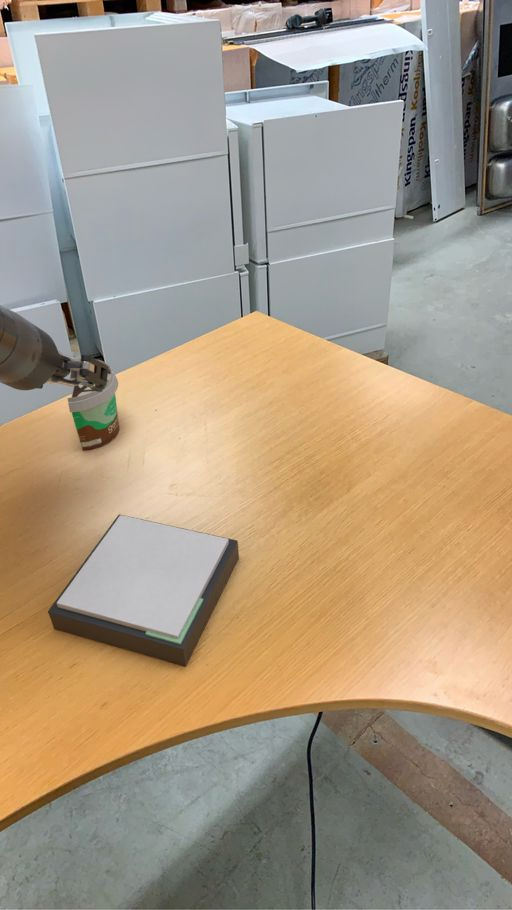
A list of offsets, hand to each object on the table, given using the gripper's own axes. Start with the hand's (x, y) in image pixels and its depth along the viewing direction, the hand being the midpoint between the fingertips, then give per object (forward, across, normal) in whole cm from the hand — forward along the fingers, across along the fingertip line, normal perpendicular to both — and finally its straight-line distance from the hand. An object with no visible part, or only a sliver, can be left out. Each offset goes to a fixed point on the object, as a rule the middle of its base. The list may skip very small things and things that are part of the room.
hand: (70, 382), depth 88 cm
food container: (+15, 0, +4) cm, 15 cm away
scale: (-7, -16, +26) cm, 31 cm away
